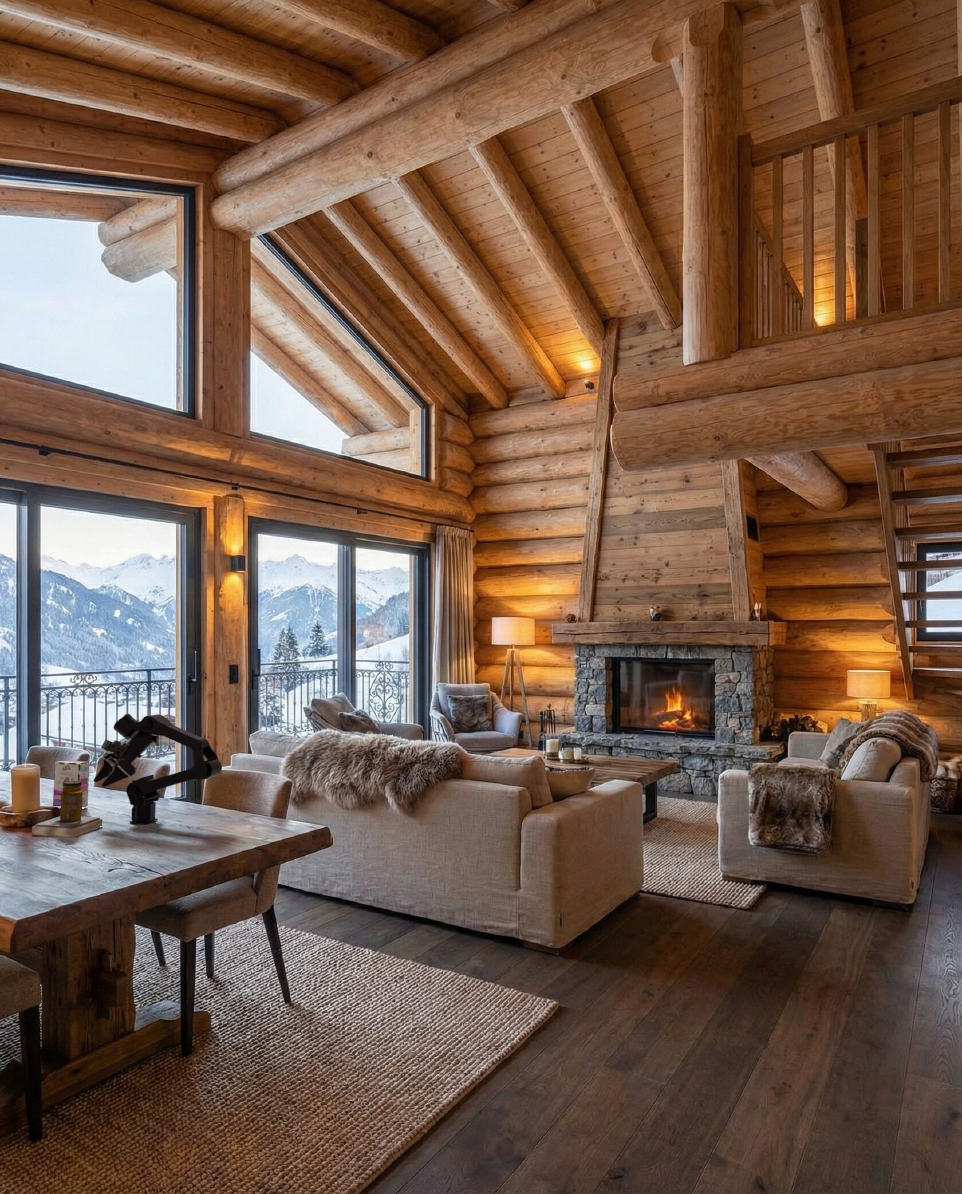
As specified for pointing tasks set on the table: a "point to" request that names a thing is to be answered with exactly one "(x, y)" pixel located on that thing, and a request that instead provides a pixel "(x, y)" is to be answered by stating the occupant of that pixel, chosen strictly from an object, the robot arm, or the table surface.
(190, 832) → the table surface
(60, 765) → the candy bar box
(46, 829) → the birch base
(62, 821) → the condiment
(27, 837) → the table surface
